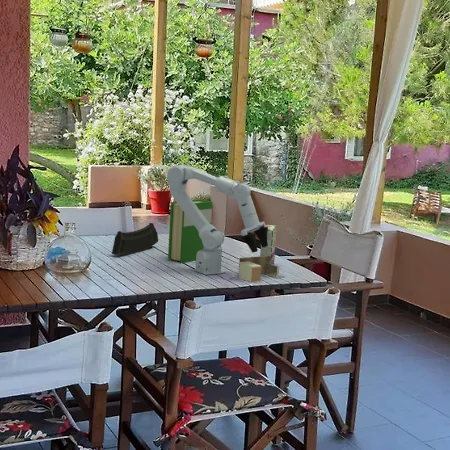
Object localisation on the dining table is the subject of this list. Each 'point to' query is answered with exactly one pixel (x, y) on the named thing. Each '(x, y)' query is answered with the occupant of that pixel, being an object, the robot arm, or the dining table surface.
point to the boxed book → (250, 271)
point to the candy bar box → (270, 244)
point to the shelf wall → (258, 261)
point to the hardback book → (186, 232)
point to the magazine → (135, 240)
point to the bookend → (272, 271)
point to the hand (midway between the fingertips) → (260, 249)
